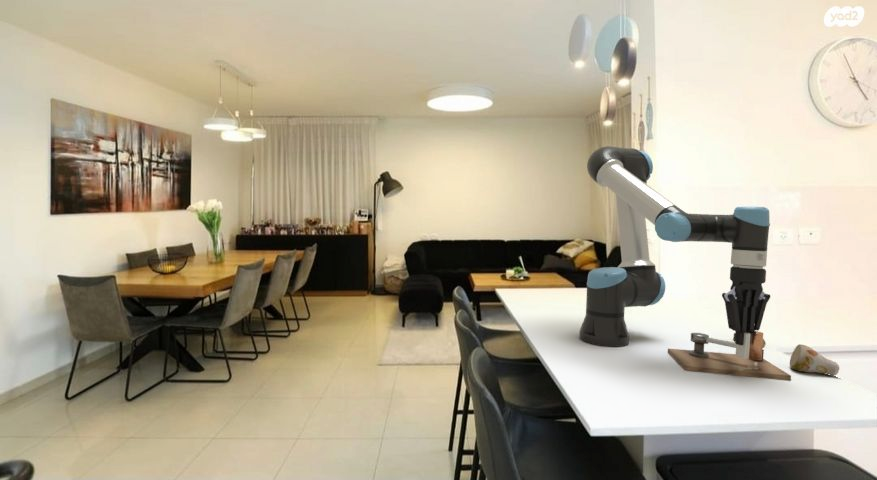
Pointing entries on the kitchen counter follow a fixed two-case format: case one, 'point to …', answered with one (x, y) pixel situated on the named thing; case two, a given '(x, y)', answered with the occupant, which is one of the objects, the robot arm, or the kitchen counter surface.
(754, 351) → the lever
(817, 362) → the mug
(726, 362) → the wooden board
